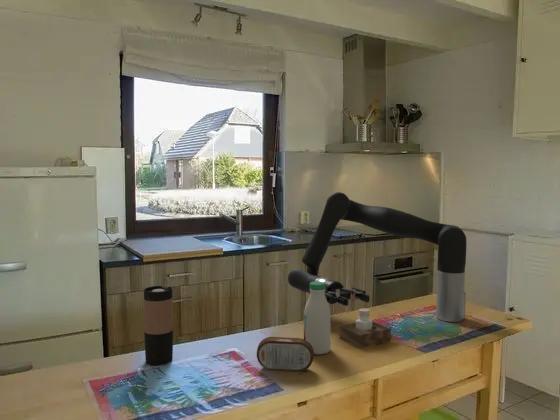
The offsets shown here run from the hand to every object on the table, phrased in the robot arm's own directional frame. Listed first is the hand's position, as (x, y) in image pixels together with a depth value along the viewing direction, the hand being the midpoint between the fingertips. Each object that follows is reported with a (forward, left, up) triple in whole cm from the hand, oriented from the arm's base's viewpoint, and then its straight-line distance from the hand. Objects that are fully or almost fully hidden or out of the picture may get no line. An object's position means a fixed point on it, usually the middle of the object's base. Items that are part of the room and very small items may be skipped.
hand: (358, 300), depth 147 cm
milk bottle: (+18, +3, -12) cm, 22 cm away
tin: (+33, +10, -12) cm, 36 cm away
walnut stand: (0, +3, -12) cm, 12 cm away
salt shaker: (0, +3, -12) cm, 12 cm away
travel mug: (+60, -12, -12) cm, 62 cm away
